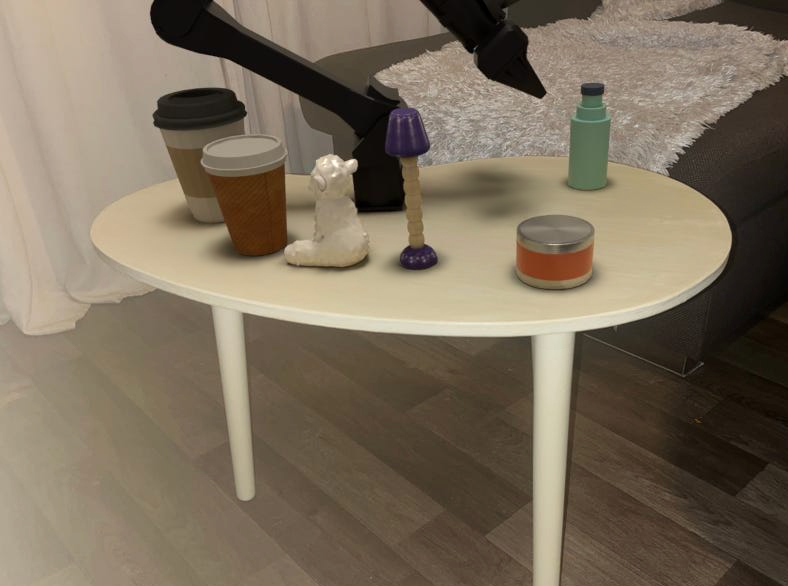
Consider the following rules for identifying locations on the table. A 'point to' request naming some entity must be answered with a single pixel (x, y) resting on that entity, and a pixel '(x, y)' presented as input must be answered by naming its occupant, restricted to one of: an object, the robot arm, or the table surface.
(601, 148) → the bottle
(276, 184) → the disposable coffee cup
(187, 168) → the coffee cup
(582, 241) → the can
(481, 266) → the table surface
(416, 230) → the toy lamp
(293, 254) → the white creature statuette
